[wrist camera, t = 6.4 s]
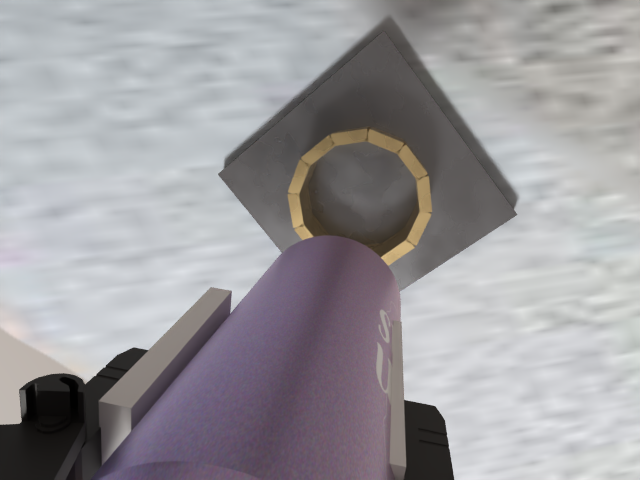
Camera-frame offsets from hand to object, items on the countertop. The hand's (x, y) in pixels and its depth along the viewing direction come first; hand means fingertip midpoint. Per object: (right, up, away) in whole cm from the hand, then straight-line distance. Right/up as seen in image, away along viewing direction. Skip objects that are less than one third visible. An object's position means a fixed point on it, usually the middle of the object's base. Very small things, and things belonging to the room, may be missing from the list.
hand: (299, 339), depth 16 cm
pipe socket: (+4, +7, +20) cm, 22 cm away
